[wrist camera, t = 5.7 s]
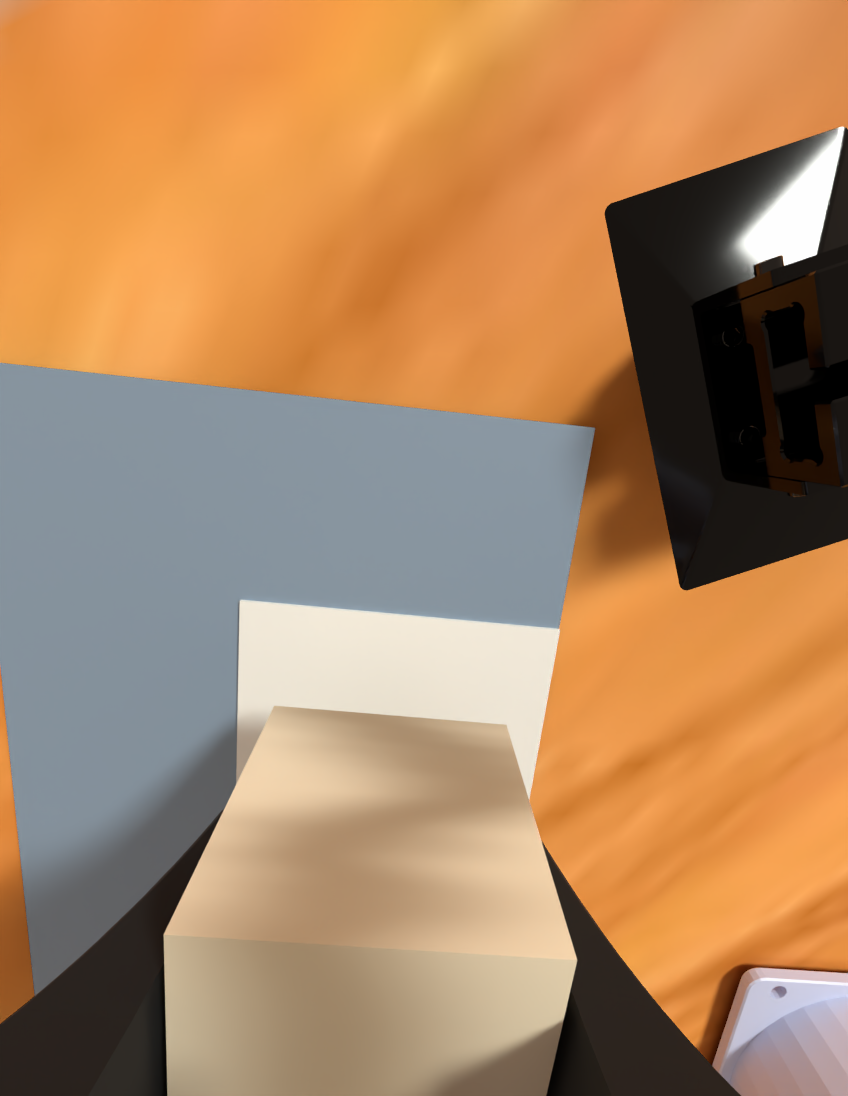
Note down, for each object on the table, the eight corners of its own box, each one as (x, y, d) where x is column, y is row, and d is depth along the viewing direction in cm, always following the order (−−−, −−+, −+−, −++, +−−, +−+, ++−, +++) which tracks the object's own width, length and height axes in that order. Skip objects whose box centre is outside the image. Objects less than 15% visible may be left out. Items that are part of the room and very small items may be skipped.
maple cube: (506, 724, 11) (577, 960, 6) (476, 907, 12) (516, 1222, 8) (274, 705, 11) (163, 934, 6) (267, 893, 12) (170, 1208, 7)
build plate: (543, 152, 12) (624, -14, 7) (868, 35, 11) (1169, -219, 7) (655, 639, 14) (761, 736, 10) (916, 561, 14) (1147, 626, 10)
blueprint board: (586, 427, 12) (596, 428, 12) (445, 1228, 20) (446, 1256, 19) (-10, 362, 12) (-36, 358, 11) (70, 1212, 19) (57, 1242, 18)
